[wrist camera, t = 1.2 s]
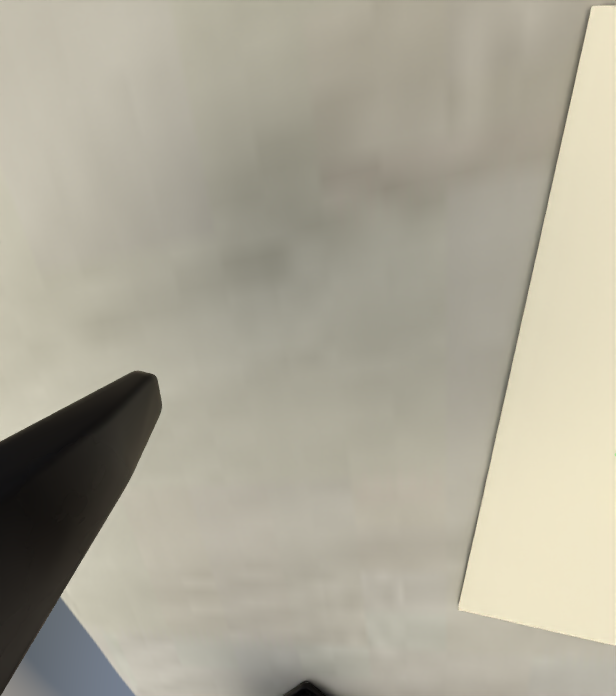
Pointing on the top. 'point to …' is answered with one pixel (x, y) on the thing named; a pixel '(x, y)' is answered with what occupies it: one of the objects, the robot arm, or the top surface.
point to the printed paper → (562, 393)
